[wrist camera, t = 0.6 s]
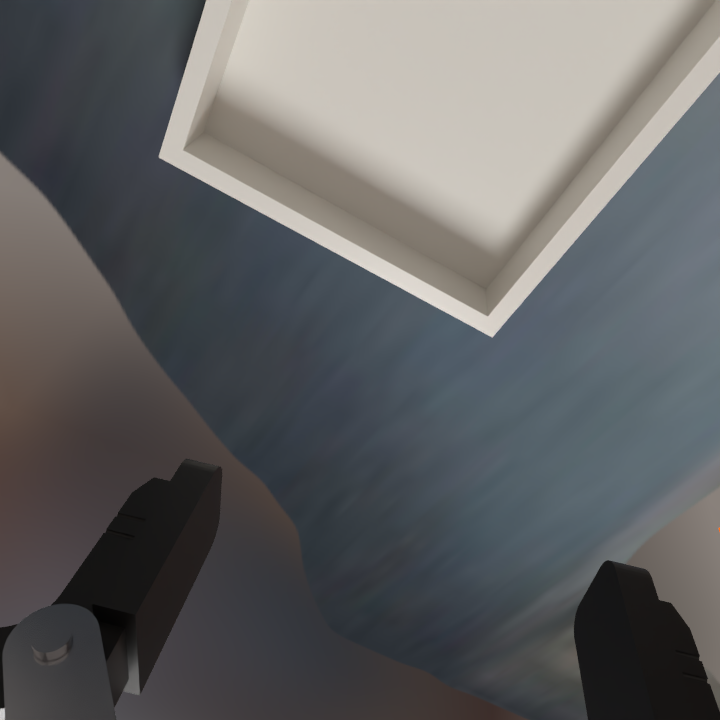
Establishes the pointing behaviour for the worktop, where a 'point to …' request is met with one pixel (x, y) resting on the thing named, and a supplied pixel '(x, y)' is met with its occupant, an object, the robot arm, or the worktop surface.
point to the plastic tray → (438, 126)
